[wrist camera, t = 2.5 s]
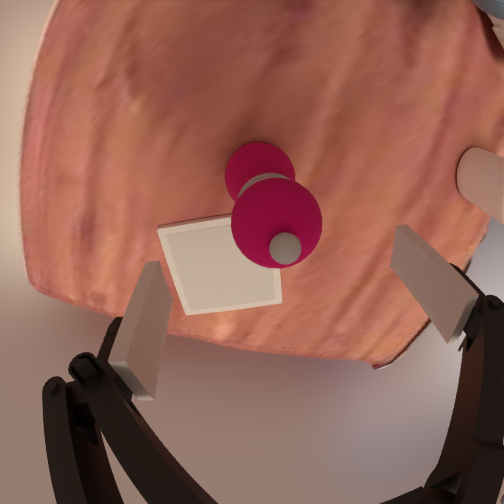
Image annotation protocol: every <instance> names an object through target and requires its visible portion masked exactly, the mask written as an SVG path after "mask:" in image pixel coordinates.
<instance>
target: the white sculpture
mask: <svg viewBox="0 0 504 504" xmlns="http://www.w3.org/2000/svg"><path fill="white" fill-rule="evenodd" d="M486 14H487V13H486ZM487 15H488V17H489V18H490V20H491V21H492V23H493V25H494V26H493V27H492V29H493V31H494V33H495V35H496V36H497V38H498V40H499V42H500V44H501V45H502V47H503V49H504V20H501V19H498V18H495V17H493V16H492V15H489V14H487Z"/></svg>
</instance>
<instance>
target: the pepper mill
mask: <svg viewBox="0 0 504 504" xmlns="http://www.w3.org/2000/svg"><path fill="white" fill-rule="evenodd" d="M225 182H226V187H227V190H228V192H229V194H230V196H231V197H232V199H233V200H234V201H235V202H236V203H235V205H234V207H233V211H232V214H231V231H232V235H233V239H234V241H235V243H236V246H237V247H238V248H239V250H240V251H241V253H242V254H243V255H244V256H245V257H246V258H248V259H249V260H250V261H252V262H253V263H255V264H258V265H260V266H262V267H266V268H276V269H279V268H285V267H290V266H292V265H295V264H297V263H299V262H301V261H302V260H304V259H305V258H306V257H307V256H308V255H309V254H310V253H311V252H312V251H313V250H314V248H315V247H316V245H317V243H318V241H319V239H320V236H321V232H322V216H321V212H320V208H319V206H318V204H317V201H316V200H315V198H314V197H313V196H312V194H311V193H310V192H309V191H308V190H307V189H306V188H305V187H303V186H302V185H300V184H299V183H297V182H295V172H294V168H293V165H292V163H291V161H290V159H289V158H288V156H287V155H286V154H285V153H284V152H283V151H282V150H281V149H279V148H277V147H276V146H273V145H270V144H267V143H261V142H254V143H248V144H246V145H244V146H242V147H240V148H239V149H238V150H237V151H236V152H235V154H234V155H233V156H232V157H231V158H230V160H229V162H228V164H227V167H226V170H225Z"/></svg>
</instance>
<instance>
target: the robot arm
mask: <svg viewBox="0 0 504 504" xmlns="http://www.w3.org/2000/svg"><path fill="white" fill-rule="evenodd" d="M471 1H472V2H473V3H474V4H475V5H476V6H477V7H478V8H479V9H480V10H482V11H483V12H485V13H487V14H489V15H492V16H493V17H495V18H498V19H501V20H504V0H471ZM390 267H391V268H392V269H393V270H394V272H395V273H396V274H397V275H398V277H399V278H400V279H401V280H402V282H403V283H404V284H405V286H406V287H407V288H408V289H409V291H410V292H411V293H412V295H413V296H414V297H415V299H416V300H417V301H418V303H419V304H420V305H421V307H422V308H423V310H424V311H425V312H426V314H427V315H428V317H429V318H430V319H431V321H432V322H433V324H434V325H435V326H436V328H437V329H438V331H439V332H440V334H441V335H442V337H443V338H444V340H445V341H446V343H447V344H449V343H451V342H453V341H455V340H458V339H459V337H460V335H461V333H462V331H464V332H465V333H466V336H465V338H464V340H463V342H462V343H461V345H460V347H459V350H458V351H460V350H461V348H462V347H463V354H462V363H461V370H460V377H459V383H458V389H457V394H456V399H455V404H454V409H453V413H452V417H451V421H450V426H449V429H448V433H447V436H446V440H445V443H444V446H443V450H442V453H441V456H440V459H439V461H438V464H437V466H436V467H435V469H434V470H433V471H432V473H431V474H430V476H429V477H428V479H427V481H426V483H425V486H424V488H422V486H421V487H419V488H417V489H414V490H412V491H410V492H408V493H405V494H403V495H400V496H398V497H396V498H393V499H391V500H388V501H386V502H383V503H380V504H496V501H497V498H498V495H499V492H500V489H501V485H502V482H503V478H504V446H503V437H504V303H503V302H502V301H501V300H500V299H499V298H498V297H496V296H494V295H487V296H485V294H484V293H483V292H482V291H481V290H480V289H479V288H478V287H477V286H476V285H475V284H474V283H473V282H472V281H471V280H470V279H469V277H468V276H467V275H465V273H464V272H463V271H462V270H461V269H460V268H459V267H457V266H455V265H454V264H452V263H448V262H447V261H446V260H445V259H444V258H443V257H442V256H441V255H440V254H439V253H438V252H437V251H436V250H435V249H434V248H433V247H431V246H430V245H429V244H428V243H427V242H426V241H425V240H424V239H423V238H422V237H420V236H419V235H418V234H417V233H416V232H415V231H414V230H413V229H411V228H410V227H409V226H408V225H407V224H406V225H399V226H396V231H395V239H394V246H393V253H392V259H391V265H390ZM172 304H173V298H172V295H171V293H170V290H169V287H168V284H167V282H166V279H165V276H164V273H163V270H162V268H161V265H160V262H159V260H158V261H151V262H146V264H145V266H144V268H143V270H142V273H141V275H140V277H139V280H138V282H137V284H136V287H135V289H134V292H133V294H132V296H131V299H130V301H129V304H128V306H127V309H126V312H125V314H124V317H116V318H115V319H114V320H113V322H112V323H111V324H110V325H109V327H108V330H107V333H106V335H105V338H104V340H103V341H104V342H103V343H102V345H101V348H100V350H99V353H98V356H97V359H96V358H95V356H94V355H93V354H92V353H89V352H83V353H81V354H79V355H77V356H76V357H74V358H73V360H72V361H71V362H70V364H69V368H68V370H69V374H70V375H71V376H72V377H73V379H75V381H72V382H68V383H66V382H65V381H64V380H63V379H62V378H61V377H58V376H56V377H52V378H50V379H49V380H48V381H47V382H46V383H45V385H44V387H43V391H42V401H43V422H44V434H45V443H46V452H47V458H48V465H49V471H50V475H51V481H52V486H53V490H54V494H55V498H56V502H57V504H124V503H123V500H122V498H121V495H120V493H119V490H118V487H117V484H116V481H115V479H114V476H113V473H112V470H111V467H110V464H109V460H108V457H107V453H106V450H105V446H104V443H103V439H102V435H101V432H102V433H103V435H104V437H105V439H106V441H107V442H108V444H109V446H110V448H111V450H112V451H113V453H114V455H115V456H116V458H117V459H118V461H119V463H120V464H121V466H122V467H123V469H124V471H125V472H126V474H127V475H128V476H129V478H130V479H131V481H132V482H133V484H134V485H135V487H136V488H137V489H138V491H139V492H140V494H141V495H142V496H143V498H144V499H145V500H146V501H147V503H148V504H218V503H217V502H216V501H215V500H214V499H213V498H212V497H211V496H210V495H209V494H208V493H207V492H206V491H205V490H204V489H203V488H202V487H201V486H200V485H199V484H198V483H197V482H196V481H195V480H194V479H193V478H192V477H191V476H190V475H189V474H188V473H187V472H186V471H185V469H184V468H183V467H182V466H181V465H180V464H179V463H178V461H177V460H176V459H175V458H174V457H173V456H172V454H171V453H170V452H169V451H168V450H167V448H166V447H165V446H164V445H163V443H162V442H161V441H160V440H159V438H158V437H157V436H156V434H155V433H154V432H153V430H152V429H151V428H150V426H149V425H148V424H147V422H146V421H145V419H144V418H143V417H142V415H141V414H140V412H139V411H138V410H137V408H136V407H135V405H134V404H133V402H132V401H131V398H132V394H134V395H135V397H136V398H137V399H138V400H154V399H155V393H156V387H157V381H158V375H159V369H160V363H161V358H162V352H163V347H164V342H165V337H166V332H167V327H168V323H169V318H170V313H171V309H172ZM100 430H101V431H100ZM501 504H504V495H503V496H502V498H501Z"/></svg>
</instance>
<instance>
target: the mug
mask: <svg viewBox="0 0 504 504" xmlns="http://www.w3.org/2000/svg"><path fill="white" fill-rule="evenodd" d="M457 186H458V189H459V192H460V194H461V195H462V196H463V197H464V198H465V199H466V200H468V201H469V202H471V203H472V204H474V205H475V206H477V207H478V208H480V209H481V210H483V211H484V212H486V213H487V214H489V215H490V216H492V217H493V218H494V219H496V220H497V221H499V222H500V223H501V224H503V225H504V158H503V157H501V156H498V155H496V154H494V153H491V152H489V151H487V150H484V149H482V148H478V147H472V148H470V149H468V150H467V151H466V152H465V153H464V155H463V156H462V158H461V160H460V162H459V165H458V169H457Z"/></svg>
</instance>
